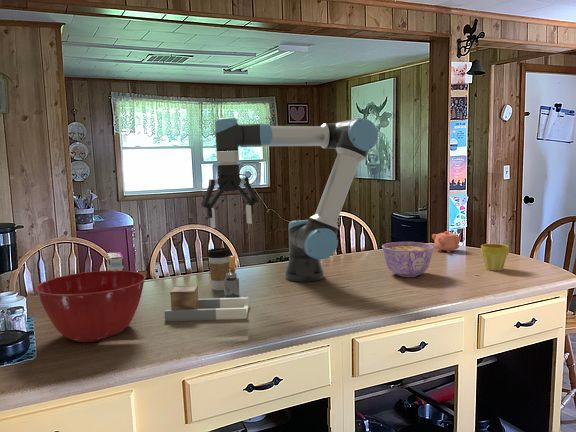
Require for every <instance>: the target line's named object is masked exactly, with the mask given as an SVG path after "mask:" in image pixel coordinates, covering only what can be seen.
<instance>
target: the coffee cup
mask: <svg viewBox="0 0 576 432" xmlns="http://www.w3.org/2000/svg"><path fill="white" fill-rule="evenodd" d="M229 256H231V250H230V247H218V248H217V247H216V248H210V249H208V250H207V258H208V267H209V272H210V273H209V275H210V279H211V287H212V290H213V291H224V279H226V273H230V265H229Z"/></svg>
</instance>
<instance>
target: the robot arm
mask: <svg viewBox="0 0 576 432" xmlns="http://www.w3.org/2000/svg"><path fill="white" fill-rule="evenodd" d="M376 126H377V125H375V123H374V122H373V121H371V120H370V119H368V118H364V117H363V118H361V117H356V118H353V119H346V120H342V121H338V122H333V123H322V124H321V125H320V126H319V125H316V126H314V125H313V126H312V125H310V126H309V125H297V126H296V125H270V124H269V123H262V122H261V123H238V120H237V118H236V117H221V118H217V119H216V120H215V123H214V129H215V130H214V134H215V135H214V136H215V147H216V148H215V149H216V163H217V164H218V165H217V179H215V178H214V179H212V178H209V180H208V187H207V189H206V192H205V194H204V197H203V199H202V201H201V204H200V206H201V207H202V208H205V209H206V217H207V218H208V219H209V222H210V228H212V229H215V228H216V214H215V208H214V205H215V204H216V203H217V201H218V200H219V198H220V197H221V195H222V194H223V193H224V192H235V191H236V192H237V194H239V196H240V197H241V198H242V199H243V200H244V201H245V202H246V203H247V204H245V214H246V216H245V217H246V224H249V225H252V223H253V222H252V220H253V219H252V215H253V214H254V206H255V204H256V203H257V204H258V202H259V199H258V198H257V195H256V194H255V192H254V189H253V188H252V186H251V183H250V179H249V177H248V176H243V177H240V164H238V163H240V154H239V147H242V148H247V147H321V148H322V149H328V150H329V149H332V150H335V151H336V153H337V155H336V158H335V160H334V162H333V166H332V169H331V172H330V174H329V176H328V179H327V182H326V184H325V187H324V189H323V193H322V195H321V198H320V201H319V203H318V205H317V208H316V210H315V213H314V214H313V215H312V216H310V217H308V219H303V220H302V219H301V220H291V221H289V223H288V229H287V230H288V249H289V251H288V252H289V253H288V255H289V259H288V262H287V266H286V269H285V275H284V276H285V279H286V280H288V281H292V282H315V281H319V280H322V279H323V278H324V269H323V267H322V263H321V261H320V260H325V259H327V258H328V259H329V258H330V257H332V256H333V255H334V254H335V252H336V251H337V248H338V244H339V239H338V237H337V236H338V235H337V234H338V231H339V226H338V225H339V224H338V220H339V217H340V214H341V212H342V209H343V206H344V204H345V201H346V198H347V195H348V194H349V191H350V189H351V185H352V182H353V180H354V177H355V175H356V173H357V169H358V167H359V164H360V163H361V162H362V161H365V160H366V158H367V154H368V152H369V151H370V150H372V149H373V148H374V147H375V146H376V145H377V143H378V139H379V131H378V129H377V127H376ZM240 184H243V187H244V188H245V190H246V192H247V193H246V192H245V191H244V190H243V188H242V187H241V186H240ZM217 185H218V187H217V189H216V192H215V193H214V190H215V187H216V186H217ZM213 193H214V195H212V194H213Z"/></svg>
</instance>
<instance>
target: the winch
mask: <svg viewBox="0 0 576 432" xmlns="http://www.w3.org/2000/svg"><path fill="white" fill-rule="evenodd" d="M223 294H224V296H219V298H241V297H247V295H240V279H239V278H238V277H237V279H234V280H227V279H224V290H223Z"/></svg>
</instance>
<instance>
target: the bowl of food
mask: <svg viewBox="0 0 576 432" xmlns="http://www.w3.org/2000/svg"><path fill="white" fill-rule="evenodd" d="M381 248H382V253H383V256H384V261H385V264H386V265H385V266H386V267H387V268H388V270H389V271H390V272H392V273H393V274H396V275H397V276H398V277H402V278H415V277H417V276H419V275H421V274H423V273H425V272H426V271H427V270H428V268H429V266H430V263H431V260H432V255H433V252H434V249H435V246H433V245H432V244H430V243H424V242H417V241H416V242H415V241H395V242H388V243H384V244H382V245H381Z"/></svg>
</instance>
